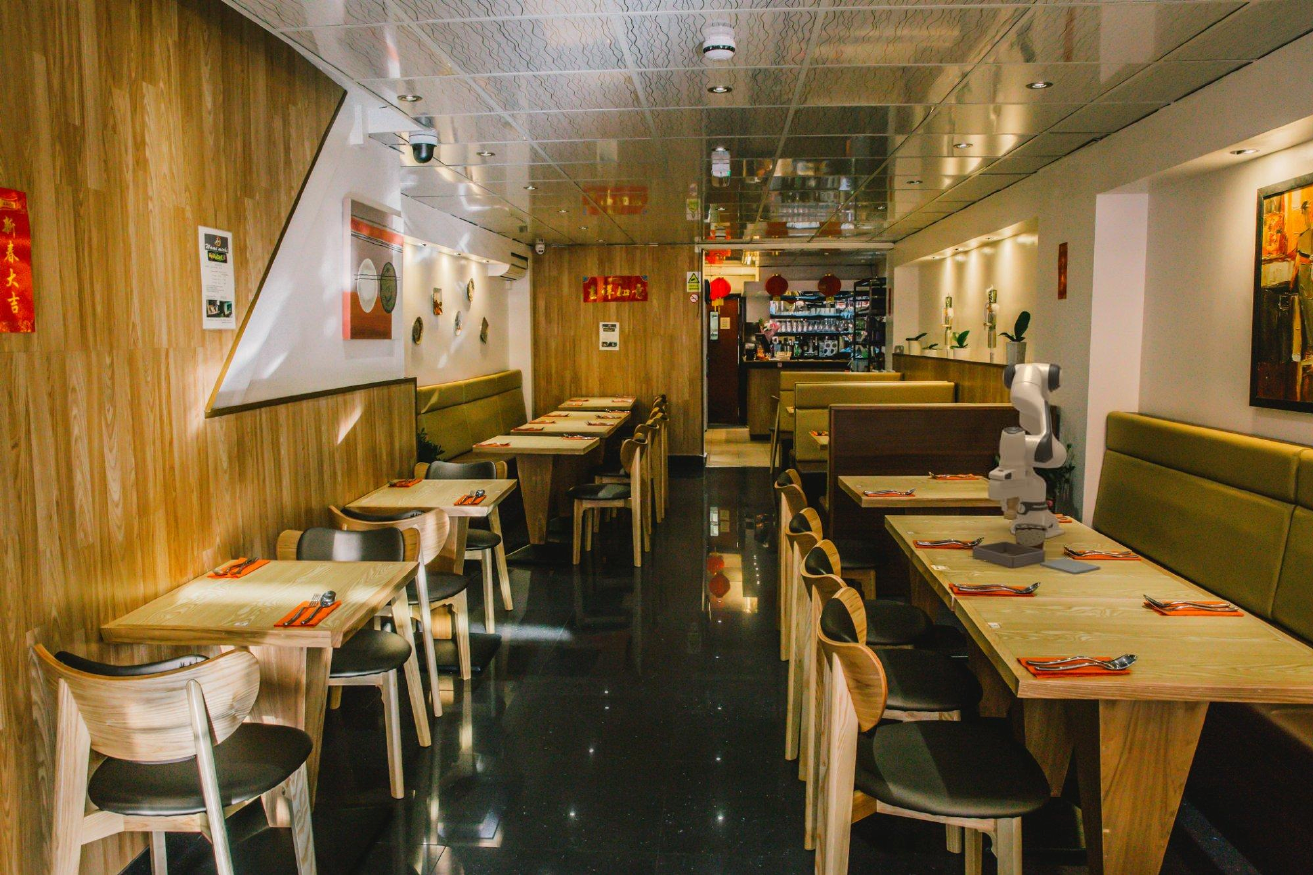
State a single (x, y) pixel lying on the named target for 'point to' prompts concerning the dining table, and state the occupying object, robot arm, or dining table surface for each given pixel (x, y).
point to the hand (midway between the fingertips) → (1010, 509)
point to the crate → (1023, 553)
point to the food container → (1030, 535)
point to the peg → (1011, 509)
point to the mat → (1069, 566)
